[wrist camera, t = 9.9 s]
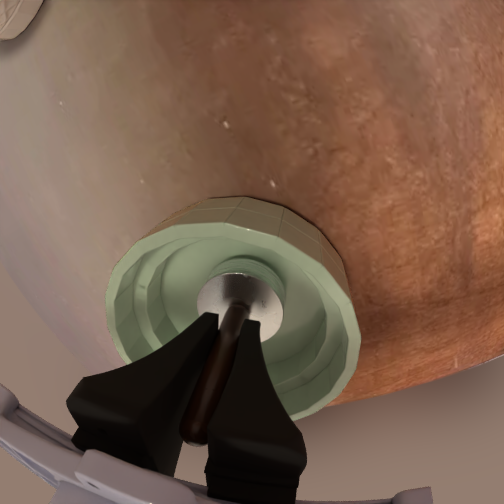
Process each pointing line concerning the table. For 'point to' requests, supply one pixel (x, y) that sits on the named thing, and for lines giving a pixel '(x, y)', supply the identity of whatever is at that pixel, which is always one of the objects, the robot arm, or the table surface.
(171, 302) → the bowl
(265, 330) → the peg on round base
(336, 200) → the table surface
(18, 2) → the white cup
